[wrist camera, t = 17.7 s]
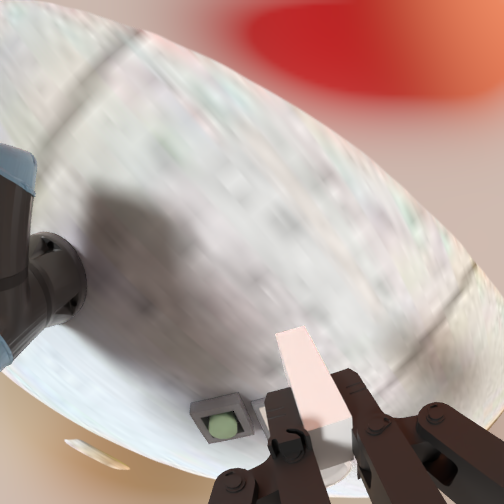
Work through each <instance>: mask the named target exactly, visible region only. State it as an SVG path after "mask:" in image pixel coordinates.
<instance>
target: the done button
mask: <svg viewBox="0 0 504 504" xmlns="http://www.w3.org/2000/svg"><path fill="white" fill-rule="evenodd" d="M209 433H210V434H211V435H212V436H213V437H215V438H218V439H228V438H231V437H233V436H235V435H236V433H237V418H236V415H235V413H234V412H232V411H230V412H225V413H221V414H216V415H211V416H209Z"/></svg>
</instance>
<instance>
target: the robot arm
mask: <svg viewBox="0 0 504 504" xmlns="http://www.w3.org/2000/svg"><path fill="white" fill-rule="evenodd" d="M36 172H37V162H36V159H35V157H34V156H33V155H32V154H31V153H30V152H28V151H25V150H22V149H19V148H16V147H13V146H9V145H6V144H2V143H0V372H1V371H2V370H3V369H4V368H5V367H6V366H8V365H11V364H12V362H13V360H14V359H15V358H16V357H17V356H18V355H19V354H20V353H21V352H22V351H23V350H24V349H25V348H26V347H27V346H28V345H29V344H30V342H31V341H32V340H33V339H34V338H35V337H36V336H37V335H38V334H39V333H40V332H41V331H42V330H43V329H44V328H46V327H50V326H54V325H58V324H62V323H64V322H66V321H68V320H70V319H71V318H72V317H73V316H74V315H75V314H76V313H77V312H78V311H79V310H80V308H81V307H82V305H83V303H84V300H85V296H86V289H87V285H86V276H85V271H84V268H83V265H82V263H81V260H80V258H79V257H78V255H77V253H76V252H75V250H74V249H73V248H72V246H71V245H70V244H69V243H68V242H67V241H65V240H64V239H63V238H61V237H60V236H58V235H56V234H54V233H50V232H39V233H36V234H33V235H30V228H31V217H32V207H33V199H34V197H35V195H36V193H35V191H34V189H35V180H36ZM275 336H276V340H277V344H278V348H279V352H280V356H281V360H282V364H283V368H284V371H285V375H286V379H287V382H288V385H289V387H288V388H285V389H281V390H277V391H273V392H269V393H267V396H266V398H265V401H264V405H265V410H266V416H267V421H268V427H269V432H270V438H269V439H268V445H267V446H268V449H269V451H270V454H271V455H270V456H269V458H268V459H267V460H266V461H265V462H264V463H262V464H261V465H259V466H257V467H255V468H253V469H250V470H246V469H241V468H234V469H229V470H227V471H224V472H223V473H222V474H220V475H219V476H218V477H217V479H216V481H215V483H214V486H213V490H212V493H211V496H210V499H209V502H208V504H331V503H330V500H329V497H328V494H327V491H326V488H325V485H324V482H323V478H322V475H321V472H320V470H324V469H327V468H330V467H333V466H336V465H339V464H342V463H345V462H348V461H351V460H354V456H355V458H356V460H357V477H358V479H362V481H363V483H364V486H365V488H366V490H367V492H368V495H369V497H370V499H371V502H372V504H447V503H446V501H445V500H444V498H443V496H442V495H441V493H440V492H439V490H441V491H442V492H443V493H444V494H445V495H446V496H448V497H449V498H450V499H451V500H452V501H454V502H455V503H456V504H504V441H502V440H501V439H499V438H498V437H496V436H494V435H493V434H491V433H490V432H488V431H487V430H485V429H484V428H482V427H481V426H479V425H478V424H476V423H475V422H473V421H472V420H470V419H468V418H467V417H465V416H464V415H462V414H461V413H459V412H458V411H456V410H455V409H453V408H452V407H450V406H449V405H447V404H444V403H440V402H434V403H430V404H428V405H426V406H424V407H423V408H422V409H421V410H420V411H419V414H418V415H416V416H411V417H406V418H393V417H391V416H389V415H387V414H384V413H383V412H382V410H381V409H380V407H379V406H378V404H377V403H376V401H375V400H374V398H373V397H372V395H371V393H370V392H369V390H368V389H367V388H366V386H365V384H364V383H363V381H362V380H361V378H360V376H359V375H358V373H356V372H354V371H353V370H351V369H349V368H347V369H345V370H342V371H339V372H336V373H333V374H330V373H329V371H328V369H327V367H326V365H325V363H324V362H323V360H322V358H321V356H320V354H319V352H318V350H317V348H316V346H315V344H314V342H313V341H312V339H311V337H310V335H309V333H308V331H307V329H306V327H305V325H304V326H301V327H297V328H294V329H290V330H287V331H283V332H280V333H276V334H275ZM438 489H439V490H438Z"/></svg>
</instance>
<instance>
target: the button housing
mask: <svg viewBox="0 0 504 504" xmlns="http://www.w3.org/2000/svg"><path fill="white" fill-rule="evenodd" d="M230 411H234V412H235V414H236V416H237V418H238V420H239V422H237V433H236V435H235V436H233V437H231V438H228V439H218V438H215V437H213V436H212V435H211V434H210V433H209V420H208V418H207V416H211V415H216V414H221V413H225V412H230ZM190 415H191V417H192V419H193V420H194V422H195V423H196V425H197V427H198V428H199V430H200V431H201V433H202V434H203V436H204V437H205V439H206V440H207V442H208V443H209V444H210V443H216V442H221V441H226V440H231V439H236V438H241V437H245V436H249V435H254V428H253V423H252V421H251V419H250V416H249V414H248V412H247V410H246V408H245V406H244V404H243V402H242V399H241V397H240V395H239V393H234V394H230V395H225V396H221V397H217V398H212V399H208V400H203V401H199V402H194V403H191V406H190Z"/></svg>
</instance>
